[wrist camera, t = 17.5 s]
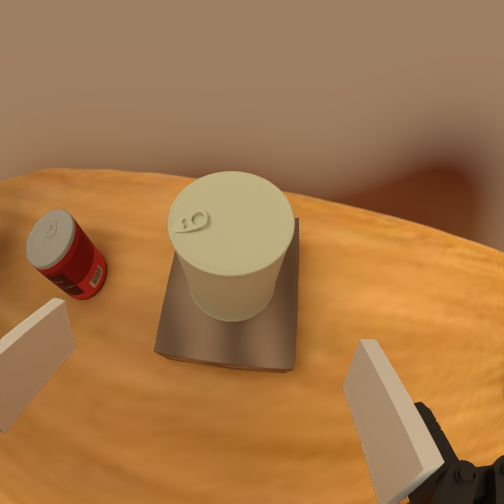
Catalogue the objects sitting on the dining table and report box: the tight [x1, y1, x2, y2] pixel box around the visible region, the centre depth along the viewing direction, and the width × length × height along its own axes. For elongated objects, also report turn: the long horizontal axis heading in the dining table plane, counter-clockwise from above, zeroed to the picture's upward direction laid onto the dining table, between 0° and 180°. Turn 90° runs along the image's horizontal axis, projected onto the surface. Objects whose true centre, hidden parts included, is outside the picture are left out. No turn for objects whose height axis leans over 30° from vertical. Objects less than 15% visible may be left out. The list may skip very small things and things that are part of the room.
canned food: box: [26, 209, 106, 299], centre depth 30 cm, size 8×8×11 cm
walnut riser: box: [154, 218, 299, 373], centre depth 32 cm, size 14×18×6 cm
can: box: [168, 171, 295, 322], centre depth 24 cm, size 9×9×12 cm
